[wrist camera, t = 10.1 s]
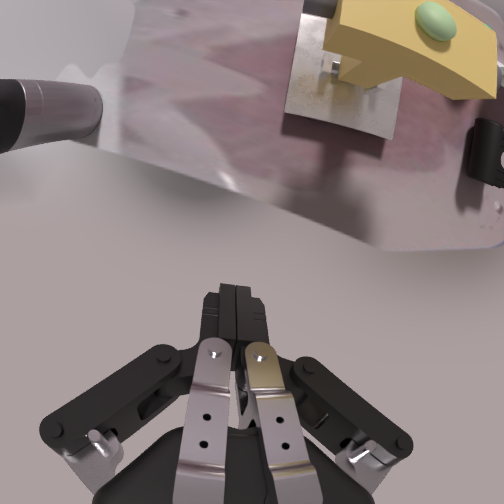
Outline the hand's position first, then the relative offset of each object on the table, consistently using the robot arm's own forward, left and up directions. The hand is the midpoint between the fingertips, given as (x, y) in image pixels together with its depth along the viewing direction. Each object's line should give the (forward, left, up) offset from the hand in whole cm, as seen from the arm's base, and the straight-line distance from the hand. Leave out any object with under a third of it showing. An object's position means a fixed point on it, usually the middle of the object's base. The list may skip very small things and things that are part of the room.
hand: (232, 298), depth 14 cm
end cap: (+35, +16, -28) cm, 48 cm away
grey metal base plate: (+9, +19, -28) cm, 35 cm away
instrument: (+9, +19, -23) cm, 31 cm away
